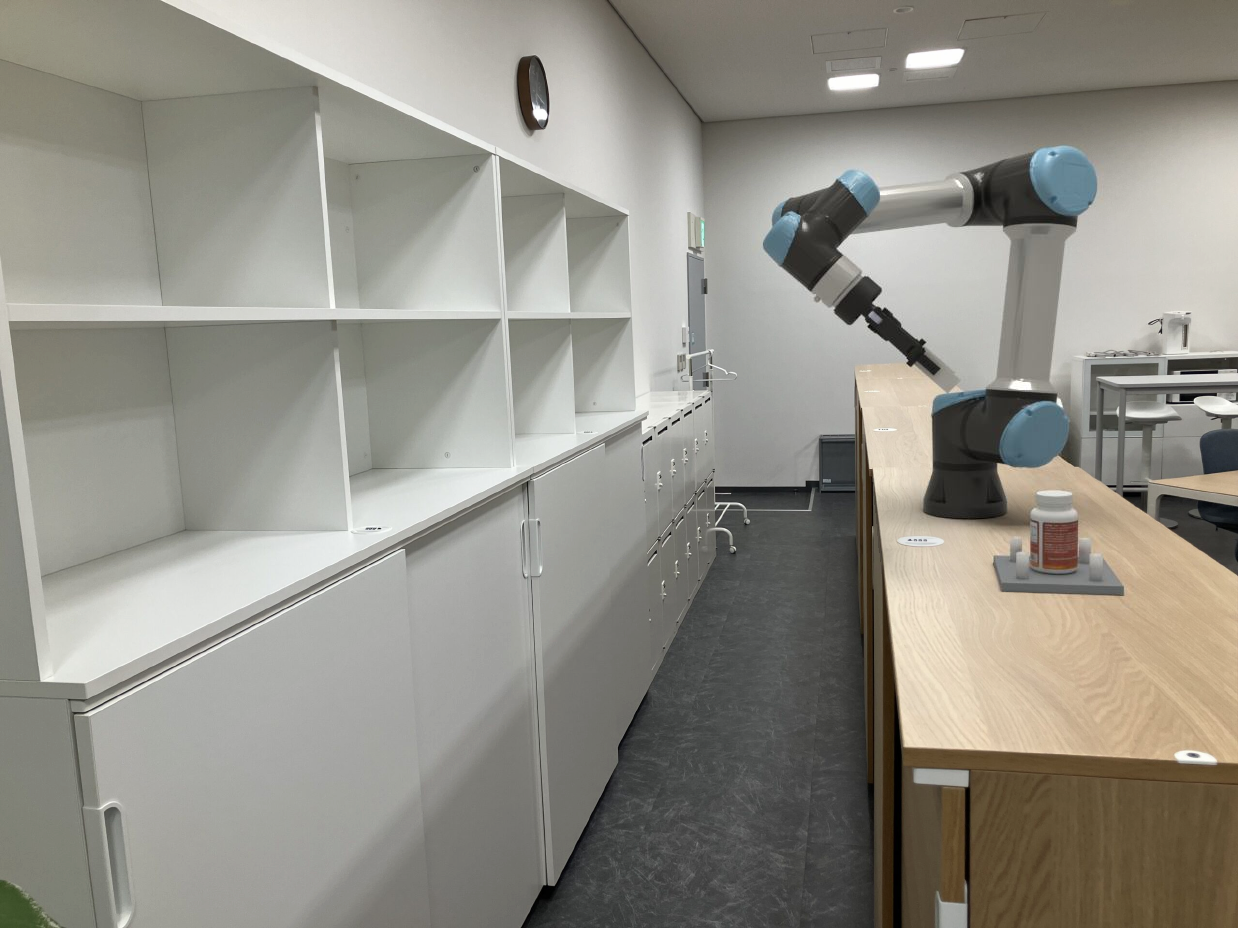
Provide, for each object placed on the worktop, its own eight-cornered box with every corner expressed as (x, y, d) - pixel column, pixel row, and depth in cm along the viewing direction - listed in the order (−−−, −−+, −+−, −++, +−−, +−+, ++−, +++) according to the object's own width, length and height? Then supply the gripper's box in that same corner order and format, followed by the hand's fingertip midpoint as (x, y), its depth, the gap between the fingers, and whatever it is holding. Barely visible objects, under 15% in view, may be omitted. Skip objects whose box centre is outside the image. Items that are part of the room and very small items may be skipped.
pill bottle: (1086, 569, 132) (1088, 492, 130) (1061, 577, 128) (1063, 498, 127) (1045, 561, 137) (1046, 487, 135) (1020, 569, 133) (1021, 493, 132)
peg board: (993, 562, 142) (993, 532, 141) (1102, 565, 137) (1103, 534, 137) (1001, 591, 128) (1001, 557, 127) (1123, 595, 123) (1124, 560, 123)
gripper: (835, 309, 159) (930, 392, 157) (825, 312, 135) (937, 410, 133) (866, 275, 156) (963, 358, 154) (862, 271, 133) (976, 370, 131)
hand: (951, 382), depth 144 cm, fingers open, 13 cm apart
